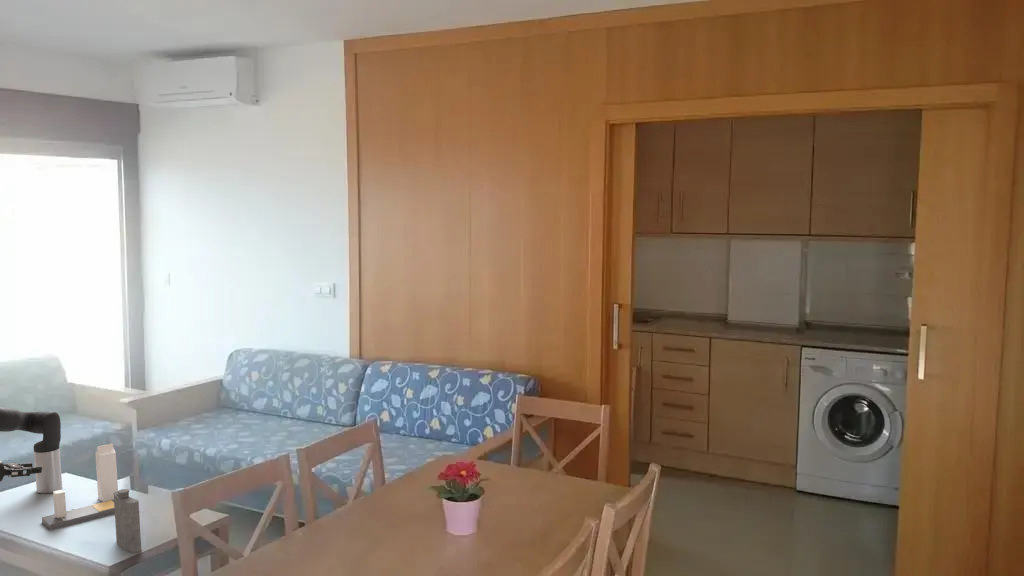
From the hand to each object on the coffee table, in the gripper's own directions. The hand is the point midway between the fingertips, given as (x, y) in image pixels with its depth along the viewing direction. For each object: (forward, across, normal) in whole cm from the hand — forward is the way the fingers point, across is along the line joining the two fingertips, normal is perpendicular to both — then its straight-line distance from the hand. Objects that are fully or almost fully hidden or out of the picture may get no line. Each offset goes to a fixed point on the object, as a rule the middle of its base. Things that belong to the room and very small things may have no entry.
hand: (36, 467), depth 290 cm
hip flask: (+16, -39, +23) cm, 48 cm away
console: (+19, +1, +20) cm, 28 cm away
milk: (+33, +14, +18) cm, 40 cm away
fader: (+11, +2, +19) cm, 22 cm away
